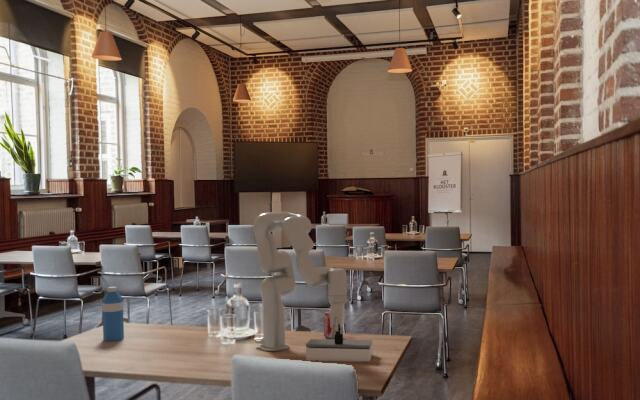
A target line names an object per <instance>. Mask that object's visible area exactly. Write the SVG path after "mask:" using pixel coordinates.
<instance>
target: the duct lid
mask: <svg viewBox="0 0 640 400" xmlns="http://www.w3.org/2000/svg"><path fill="white" fill-rule="evenodd" d="M371 344H372V345H373V339H343V344H335V338H332V339H329V338H321V339H320V338H310V340H309V341H307V342H306V344H305V348H306V347H344V348H370V346H371Z"/></svg>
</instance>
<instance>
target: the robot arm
mask: <svg viewBox="0 0 640 400" xmlns="http://www.w3.org/2000/svg"><path fill="white" fill-rule="evenodd" d="M252 225H253V227H252V229H253V230H252V231H253V235H254V239H255V243H256V249H257V255H258V262H259V268H260V270H261V271H262V273H263V274H267V275H268V274H275V273H276V275H272V276H268V277H266V278H264V279H263V280H262V281H261V283H260V286H259V292H260V296H261V301H262V321H263V322H262V331H263V333H262V334H263V337H261V338H260V337H259V338H258V337H255V338H254V341H253V342H254V343H255V344H261V345H259V349H260V350H261V351H266V352H268V351H269V352H279V351H285V350H287V349H289V348H290V347H289V343H287V342H286V322H285V321H286V320H285V305H284V302H283V300H282V298H281V297H285V296H289V295H291V294H293V293H294V292H295V290H296V278H295V277H296V276H295V271H294V265H293V260H292V257H291V255H290V254H289V253H288V252H287V251H285V250H278V249H277V248H278V247H277V242H276V240H275V237H274V236H273V234H272V232H280V231H282V232H283V234H284V235H285V237H286V238H287V240H288V241H289V243H290V245H291V247H292V248H293V250H294V251H295V254H296V258H295V260H296V261H295V262H296V268H297V271H298V273H299V275H300V276H301V278H302V280H303V281H304V283H305V284H306V285H308V287H310V288H316V287H321V286H327V295H328V297H327V298H328V303H329V304H330V307H329V308H330V309H329V311H330V327H331V328H332V327H333V326H334V329H335V338H334V339H335V344H343V340H344V333H343V330H344V329H343V327H344V325H345V323H346V315H345V313H346V308H345V304H346V303H348V298H347V297H348V295H347V293H348V292H347V290H348V287H347V272H346V271H347V270H346V269H345V268H342V267H341V268H340V267H336V268H334V267H331V266H321V267H320V266H319V267H314V266H313V263H312V262H311V260H310V256H309V253H310V252H311V250H313V248H314V245H315V243H314V241H313V240H312V238H311V237H310V235H309V233H310V232H311V231H312V223H311V220H310V218H308V217H307V216H306V215H302V214H298V213H293V212H289V211H270V212H269V211H267V212H264V213H261V214H260V215H258V216H257V217H256V218H255V219H254V222H253V224H252Z"/></svg>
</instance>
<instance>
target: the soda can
mask: <svg viewBox="0 0 640 400" xmlns="http://www.w3.org/2000/svg"><path fill="white" fill-rule="evenodd" d="M323 336H324V337H325V339H335V329H334V326H333V327H332V328H331V327H330V310H326V311H324V314H323Z"/></svg>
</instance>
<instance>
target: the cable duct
mask: <svg viewBox="0 0 640 400" xmlns="http://www.w3.org/2000/svg"><path fill="white" fill-rule="evenodd" d="M305 357H306V358H305V360H306V361H316V360H318V361H319V362H320V361H321V362H323V361H325V362H326V361H327V362H355V363H356V362H358V363H359V362H361V363H362V362H366V363H367V362H369V363H370V362H371V359H372V357H373V343H372V344H371V346H370V348H344V347H306V346H305Z"/></svg>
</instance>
